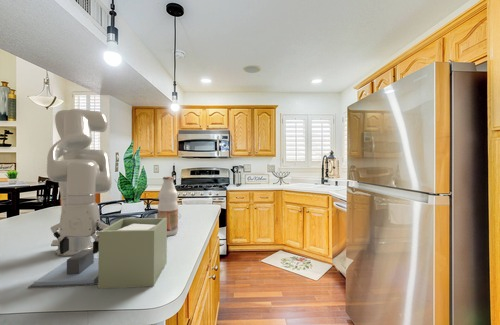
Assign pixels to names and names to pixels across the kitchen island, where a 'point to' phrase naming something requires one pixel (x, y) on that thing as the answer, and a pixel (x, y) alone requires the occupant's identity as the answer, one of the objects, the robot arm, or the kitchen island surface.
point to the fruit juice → (169, 205)
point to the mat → (63, 285)
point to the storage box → (132, 253)
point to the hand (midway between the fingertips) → (80, 252)
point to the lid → (73, 271)
